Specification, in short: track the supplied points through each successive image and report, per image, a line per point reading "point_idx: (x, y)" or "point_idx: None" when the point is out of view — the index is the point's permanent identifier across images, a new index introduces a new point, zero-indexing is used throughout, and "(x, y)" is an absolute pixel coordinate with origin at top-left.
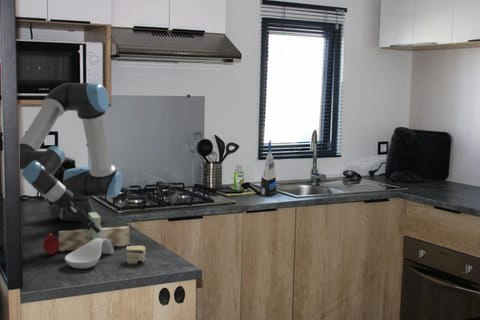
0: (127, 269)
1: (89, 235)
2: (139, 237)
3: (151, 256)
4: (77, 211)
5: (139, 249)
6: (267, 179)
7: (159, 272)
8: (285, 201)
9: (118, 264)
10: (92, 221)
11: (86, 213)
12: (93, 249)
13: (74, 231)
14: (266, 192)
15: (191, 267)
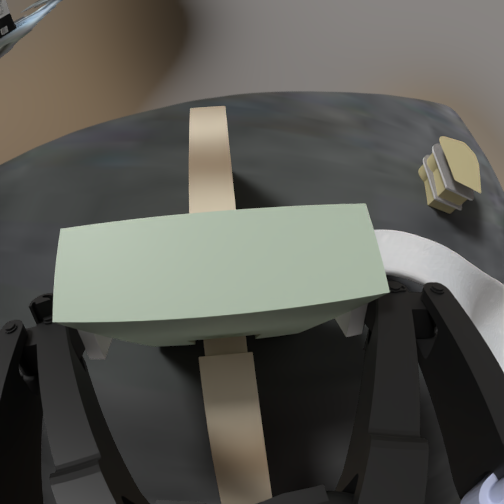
0: (487, 223)
1: (174, 341)
2: (112, 132)
3: (379, 136)
4: (497, 460)
5: (473, 159)
6: (8, 13)
7: (483, 165)
8: (47, 11)
9: (461, 240)
10: (381, 300)
11: (9, 332)
12: (472, 312)
13: (265, 455)
14: (11, 26)
15: (441, 106)
